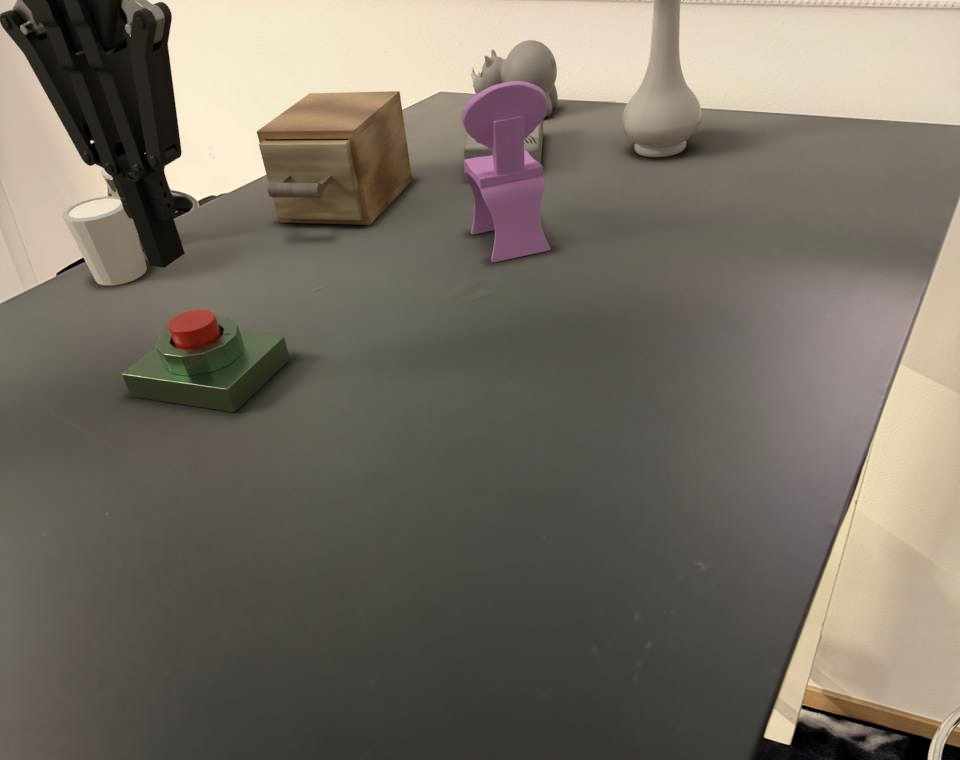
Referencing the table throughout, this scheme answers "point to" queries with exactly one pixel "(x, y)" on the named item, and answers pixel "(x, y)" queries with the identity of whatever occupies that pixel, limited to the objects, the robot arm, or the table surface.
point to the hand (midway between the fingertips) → (167, 259)
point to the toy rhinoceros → (521, 70)
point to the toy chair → (507, 167)
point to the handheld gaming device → (530, 145)
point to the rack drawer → (312, 179)
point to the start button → (194, 329)
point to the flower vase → (662, 92)
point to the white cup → (106, 240)
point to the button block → (208, 369)
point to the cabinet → (354, 142)
